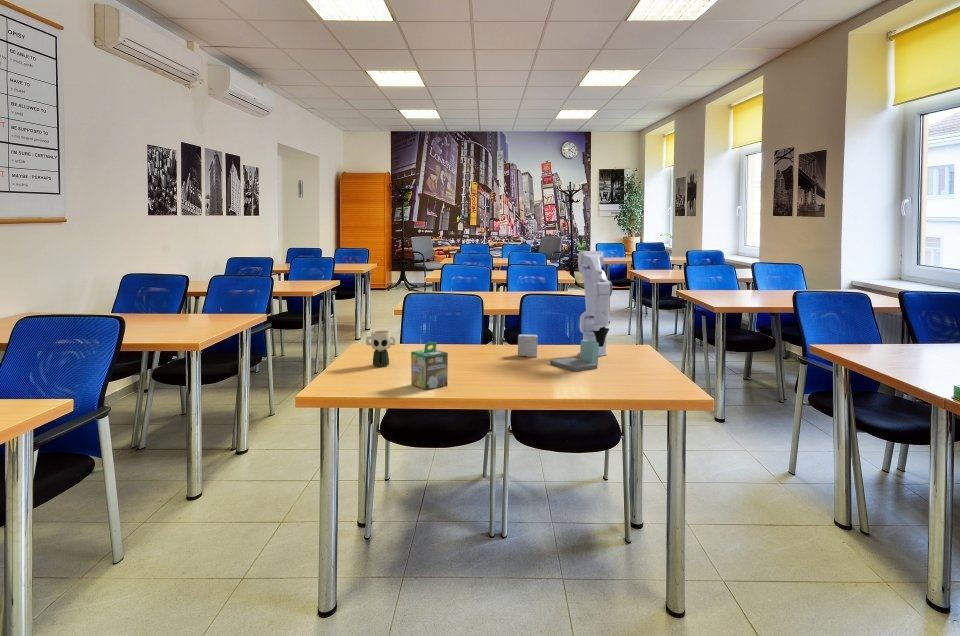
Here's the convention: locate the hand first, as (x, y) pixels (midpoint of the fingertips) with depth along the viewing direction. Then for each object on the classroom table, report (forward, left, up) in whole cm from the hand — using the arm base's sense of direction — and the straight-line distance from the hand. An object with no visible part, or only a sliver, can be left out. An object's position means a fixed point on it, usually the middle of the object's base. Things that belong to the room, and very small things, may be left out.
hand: (600, 346), depth 252 cm
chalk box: (+76, -1, -7) cm, 76 cm away
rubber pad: (+14, 0, -6) cm, 15 cm away
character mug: (+78, -36, -7) cm, 86 cm away
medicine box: (+18, -24, -7) cm, 31 cm away
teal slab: (+6, 0, -7) cm, 9 cm away
